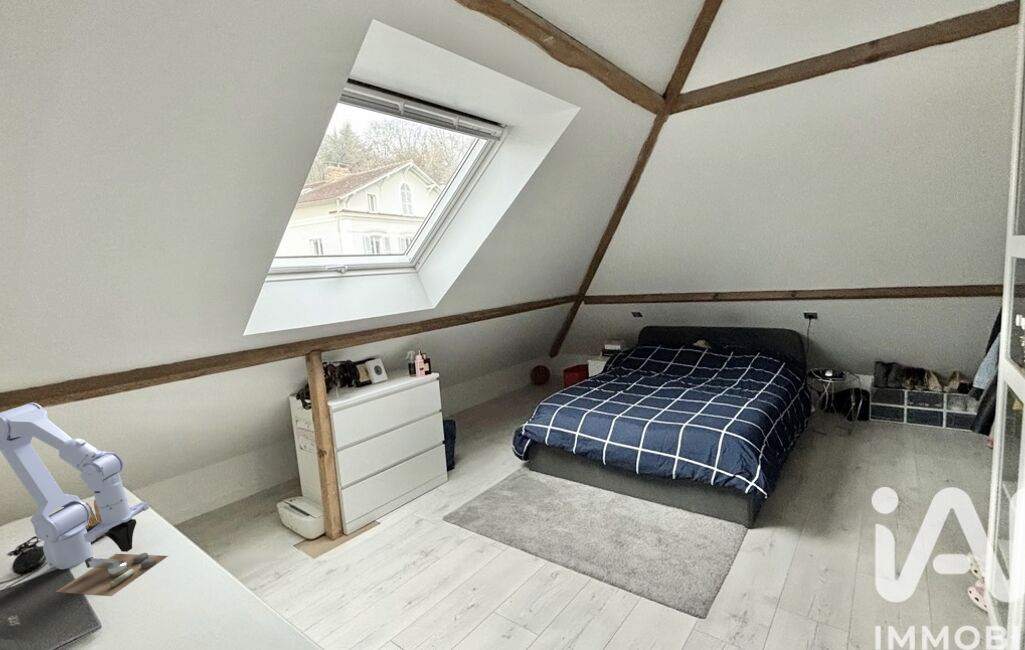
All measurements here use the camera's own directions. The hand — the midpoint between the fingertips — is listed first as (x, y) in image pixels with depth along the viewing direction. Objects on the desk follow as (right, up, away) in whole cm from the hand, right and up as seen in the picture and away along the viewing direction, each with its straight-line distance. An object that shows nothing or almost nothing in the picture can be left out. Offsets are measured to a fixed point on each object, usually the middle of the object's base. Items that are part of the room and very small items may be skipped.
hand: (126, 550), depth 125 cm
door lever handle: (0, -3, -6) cm, 6 cm away
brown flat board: (+2, -4, -6) cm, 7 cm away
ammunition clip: (-17, -3, +16) cm, 24 cm away
